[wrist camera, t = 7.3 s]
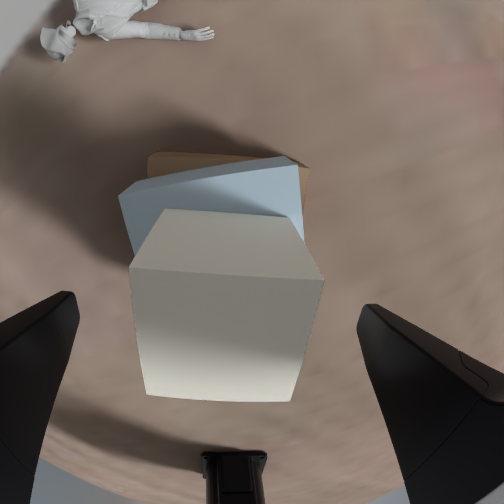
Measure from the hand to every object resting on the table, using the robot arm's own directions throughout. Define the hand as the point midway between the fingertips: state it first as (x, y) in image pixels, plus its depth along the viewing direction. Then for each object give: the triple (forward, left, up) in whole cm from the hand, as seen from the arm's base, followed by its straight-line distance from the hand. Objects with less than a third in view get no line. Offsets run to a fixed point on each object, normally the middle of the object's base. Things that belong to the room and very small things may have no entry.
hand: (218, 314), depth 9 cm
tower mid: (0, 0, -6) cm, 6 cm away
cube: (0, 0, -3) cm, 3 cm away
